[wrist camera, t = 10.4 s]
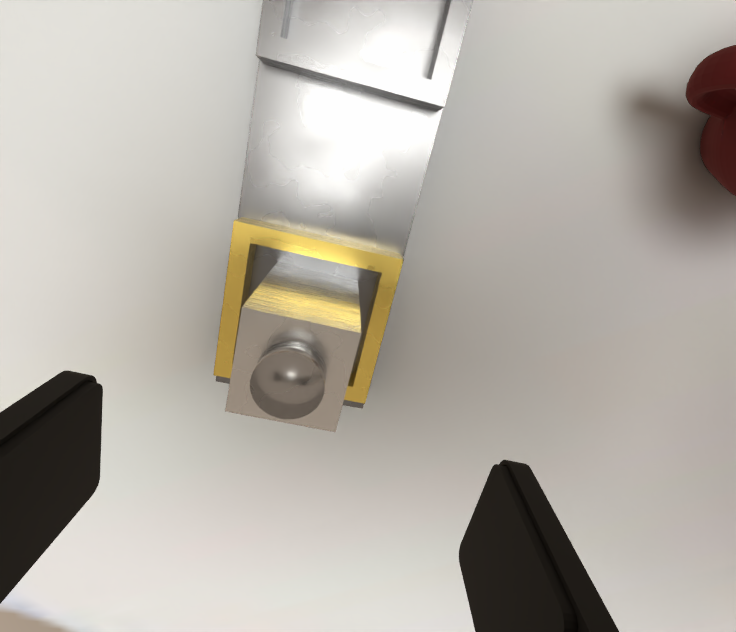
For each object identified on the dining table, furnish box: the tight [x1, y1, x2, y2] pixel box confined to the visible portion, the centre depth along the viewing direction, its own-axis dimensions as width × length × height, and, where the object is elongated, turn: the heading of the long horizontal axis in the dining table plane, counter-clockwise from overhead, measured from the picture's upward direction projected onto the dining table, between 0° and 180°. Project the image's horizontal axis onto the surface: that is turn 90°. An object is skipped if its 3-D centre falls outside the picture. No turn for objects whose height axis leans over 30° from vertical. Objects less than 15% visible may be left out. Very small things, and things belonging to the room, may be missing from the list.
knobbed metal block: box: [225, 262, 361, 432], centre depth 17 cm, size 4×4×8 cm
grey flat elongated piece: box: [214, 0, 473, 408], centre depth 19 cm, size 8×24×4 cm, turn 167°
